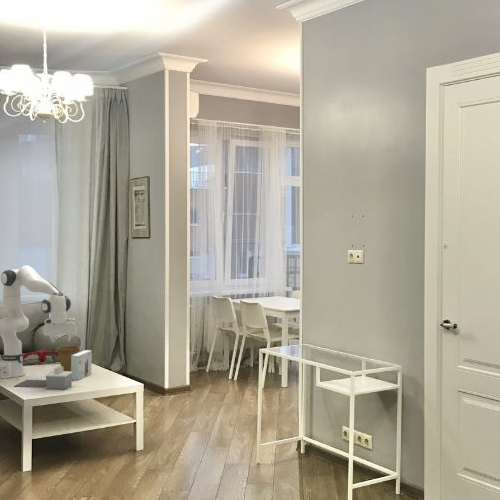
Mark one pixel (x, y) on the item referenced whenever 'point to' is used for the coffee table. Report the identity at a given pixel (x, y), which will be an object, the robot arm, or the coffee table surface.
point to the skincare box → (81, 364)
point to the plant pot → (67, 356)
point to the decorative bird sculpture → (40, 355)
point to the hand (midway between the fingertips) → (61, 341)
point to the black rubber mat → (32, 383)
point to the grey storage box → (58, 382)
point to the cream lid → (59, 372)
